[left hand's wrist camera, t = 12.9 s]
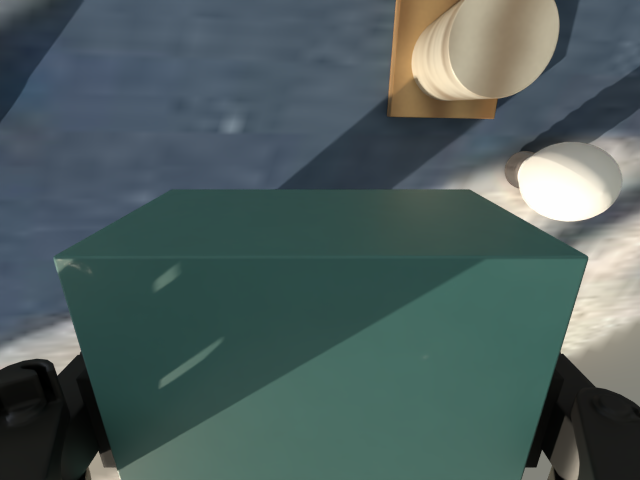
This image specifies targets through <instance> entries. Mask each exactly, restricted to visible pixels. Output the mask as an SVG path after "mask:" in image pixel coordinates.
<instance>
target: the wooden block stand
mask: <svg viewBox="0 0 640 480" xmlns="http://www.w3.org/2000/svg"><path fill="white" fill-rule="evenodd" d="M558 36H559V14H558V9H557V6H556V3H555V1H554V0H396V8H395V21H394V33H393V45H392V58H391V70H390V82H389V95H388V107H387V116H389V117H427V118H480V119H494V116H495V111H496V106H497V100H498V98H503V97H507V96H510V95H513V94H515V93H518V92H520V91H521V90H523V89H525V88H526V87H528V86H529V85H530V84H531V83H533V82H534V81H535V80H536V79H537V78H538V77H539V76H540V74H541V73H542V72H543V71H544V69H545V68H546V66H547V65H548V63H549V61H550V60H551V58H552V56H553V53H554V51H555V48H556V45H557V41H558Z"/></svg>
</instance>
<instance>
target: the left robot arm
mask: <svg viewBox="0 0 640 480" xmlns="http://www.w3.org/2000/svg"><path fill="white" fill-rule="evenodd" d="M542 450H543V452H544V453H545V455H546V456H547V458H548V459H549V461H550V462H551V464H552V468H551V471H550V474H549V476H548V479H547V480H640V407H639V406H638V405H637V404H635V403H634V402H633V401H631V400H629V399H627V398H625V397H624V396H622V395H620V394H617V393H615V392H612V391H609V390H607V389H602V388H596V387H595V386H594V385H593V384H592V383H591V382H590V381H589V380H588V379H587V378H586V377H585V376H584V375H583V374H582V373H581V372H580V371H579V370H578V369H577V368H576V367H575V366H574V365H573V364H572V363H571V361H570V360H569V359H568V358H567V357H566V356H565V355H564V354H561V352H560V354H559V357H558V360H557V364H556V367H555V370H554V374H553V377H552V380H551V384H550V387H549V390H548V393H547V397H546V400H545V403H544V407H543V410H542V413H541V417H540V420H539V423H538V426H537V430H536V433H535V436H534V440H533V443H532V446H531V449H530V453H529V456H528V459H527V463H526V466H525V467H537V464H538V461H539V457H540V454H541V451H542ZM98 451H99V453H100V457H101V460H102V463H103V466H104V467H116V464H115V461H114V458H113V454H112V451H111V448H110V444H109V441H108V438H107V434H106V431H105V428H104V425H103V421H102V418H101V415H100V411H99V408H98V405H97V401H96V398H95V395H94V391H93V388H92V385H91V381H90V378H89V375H88V372H87V368H86V365H85V362H84V358H83V355H82V352H80V355H77V356H76V357H75V358H74V359H73V360H72V361H71V362H70V363H69V364H68V365H67V367H66V368H65V369H64V370H63V371H62V372H61V373H60V374H59V375H58V376H57V374H56V371H55V368H54V365H53V363H51V362H50V361H48V360H45V359H32V360H26V361H21V362H18V363H15V364H12V365H9V366H7V367H5V368H3V369H1V370H0V480H91V475H90V471H89V468H88V466H89V465H90V463H91V461H92V460H93V458H94V457H95V455H96V454H97V452H98Z"/></svg>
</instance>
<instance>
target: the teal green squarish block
mask: <svg viewBox="0 0 640 480" xmlns="http://www.w3.org/2000/svg"><path fill="white" fill-rule="evenodd" d="M54 262H55V265H56V269H57V272H58V275H59V279H60V282H61V285H62V289H63V292H64V295H65V299H66V302H67V305H68V309H69V312H70V315H71V318H72V322H73V325H74V328H75V332H76V335H77V338H78V342H79V345H80V348H81V352H82V355H83V358H84V362H85V365H86V368H87V372H88V375H89V378H90V381H91V385H92V388H93V391H94V395H95V398H96V401H97V405H98V408H99V411H100V415H101V418H102V421H103V425H104V428H105V431H106V434H107V438H108V441H109V444H110V448H111V451H112V454H113V458H114V461H115V464H116V468H117V471H118V474H119V478H120V480H521V479H522V476H523V473H524V469H525V466H526V463H527V459H528V456H529V453H530V449H531V446H532V443H533V440H534V436H535V433H536V430H537V426H538V423H539V420H540V417H541V413H542V410H543V407H544V403H545V400H546V397H547V393H548V390H549V387H550V384H551V380H552V377H553V374H554V370H555V367H556V364H557V360H558V357H559V354H560V351H561V347H562V344H563V341H564V337H565V334H566V331H567V328H568V324H569V321H570V318H571V314H572V311H573V308H574V304H575V301H576V298H577V295H578V291H579V288H580V285H581V281H582V278H583V275H584V271H585V268H586V265H587V262H588V256H587V255H585V254H583V253H581V252H580V251H578V250H576V249H574V248H572V247H571V246H569V245H567V244H565V243H564V242H562V241H560V240H558V239H556V238H555V237H553V236H551V235H549V234H548V233H546V232H544V231H542V230H540V229H539V228H537V227H535V226H533V225H532V224H530V223H528V222H526V221H524V220H523V219H521V218H519V217H517V216H516V215H514V214H512V213H510V212H508V211H507V210H505V209H503V208H501V207H500V206H498V205H496V204H494V203H492V202H491V201H489V200H487V199H485V198H484V197H482V196H480V195H478V194H476V193H475V192H473V191H471V190H170V191H168V192H166V193H165V194H163V195H161V196H159V197H158V198H156V199H154V200H152V201H151V202H149V203H147V204H145V205H144V206H142V207H140V208H138V209H136V210H135V211H133V212H131V213H129V214H128V215H126V216H124V217H122V218H121V219H119V220H117V221H115V222H114V223H112V224H110V225H108V226H107V227H105V228H103V229H101V230H99V231H98V232H96V233H94V234H92V235H91V236H89V237H87V238H85V239H84V240H82V241H80V242H78V243H77V244H75V245H73V246H71V247H69V248H68V249H66V250H64V251H62V252H61V253H59V254H57V255H55V256H54Z"/></svg>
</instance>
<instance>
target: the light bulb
mask: <svg viewBox="0 0 640 480" xmlns="http://www.w3.org/2000/svg"><path fill="white" fill-rule="evenodd" d="M505 175H506V178H507V180H508V181H509V183H510V184H511V185H513V186H514V187H517V188H519V189H520V192H521V195H522V197H523V199H524V200H525V202H526V203H527V204H528V205H529V206H530V208H532V209H533V210H535V211H536V212H537V213H539V214H540V215H543V216H545V217H548V218H551V219H554V220H560V221H579V220H584V219H588V218H591V217H594V216H596V215H598V214H600V213H602V212H604V211H605V210H606V209H608V208H609V207H610V206H611V205H612V204H613V203H614V201H615V200H616V199H617V197H618V195H619V193H620V191H621V187H622V174H621V171H620V168H619V166H618V164H617V163H616V161H615V160H614V159H613V158H612V157H611V156H610V155H609V154H608V153H607V152H605V151H604V150H602V149H600V148H598V147H596V146H594V145H590V144H586V143H581V142H563V143H558V144H553V145H550V146H548V147H545V148H543V149H541V150H540V151H538V152H536V153H534V152H529V151H521V152H518V153H516V154H514V155H513V156H512V157H511V158H510V159H509V160H508V162H507V164H506V167H505Z"/></svg>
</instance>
